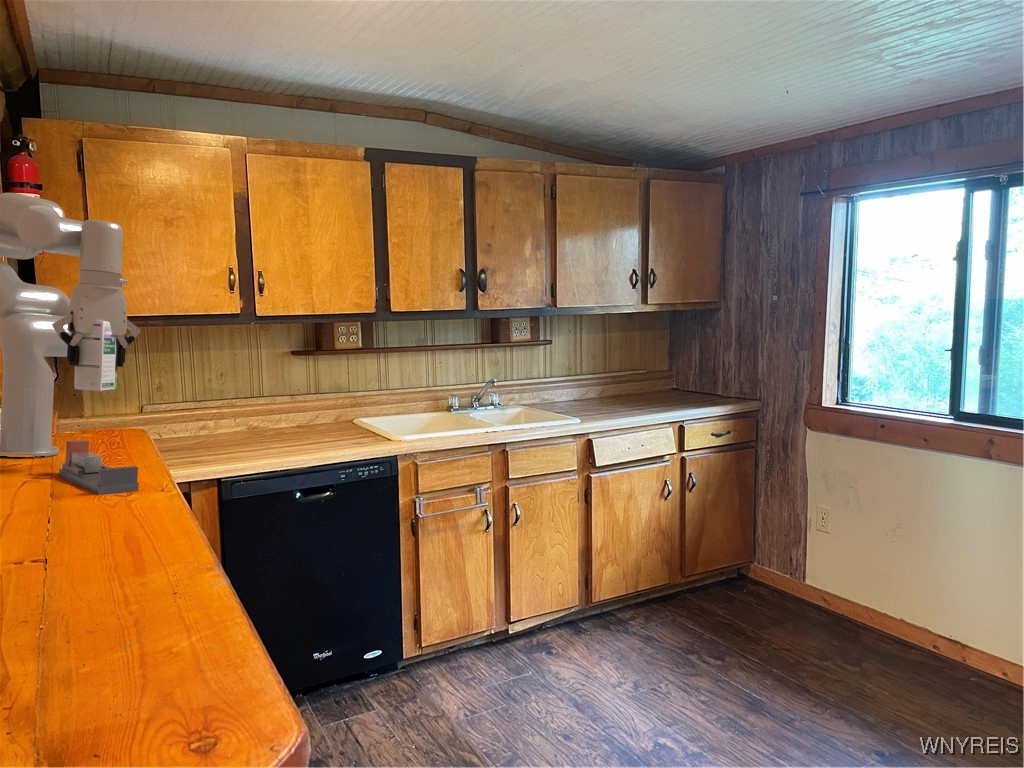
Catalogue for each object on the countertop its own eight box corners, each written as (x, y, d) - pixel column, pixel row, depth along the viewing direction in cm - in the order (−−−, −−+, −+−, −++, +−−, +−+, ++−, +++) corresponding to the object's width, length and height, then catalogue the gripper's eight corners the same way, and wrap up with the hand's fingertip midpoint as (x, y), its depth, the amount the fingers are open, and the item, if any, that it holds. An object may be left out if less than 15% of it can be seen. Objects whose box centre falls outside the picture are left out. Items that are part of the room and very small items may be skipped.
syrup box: (100, 391, 143) (104, 320, 143) (72, 389, 144) (75, 318, 143) (117, 390, 149) (120, 321, 149) (89, 387, 149) (93, 319, 149)
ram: (65, 465, 142) (66, 440, 142) (83, 463, 145) (85, 439, 144) (83, 473, 136) (84, 447, 136) (102, 471, 139) (103, 446, 139)
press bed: (58, 476, 139) (59, 453, 139) (96, 472, 145) (97, 451, 145) (98, 494, 128) (99, 470, 127) (138, 490, 133) (139, 467, 133)
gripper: (135, 286, 154) (131, 365, 155) (45, 276, 141) (41, 363, 142) (151, 286, 150) (147, 368, 151) (60, 275, 136) (56, 366, 137)
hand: (96, 365), depth 146 cm, fingers closed on syrup box, 8 cm apart
